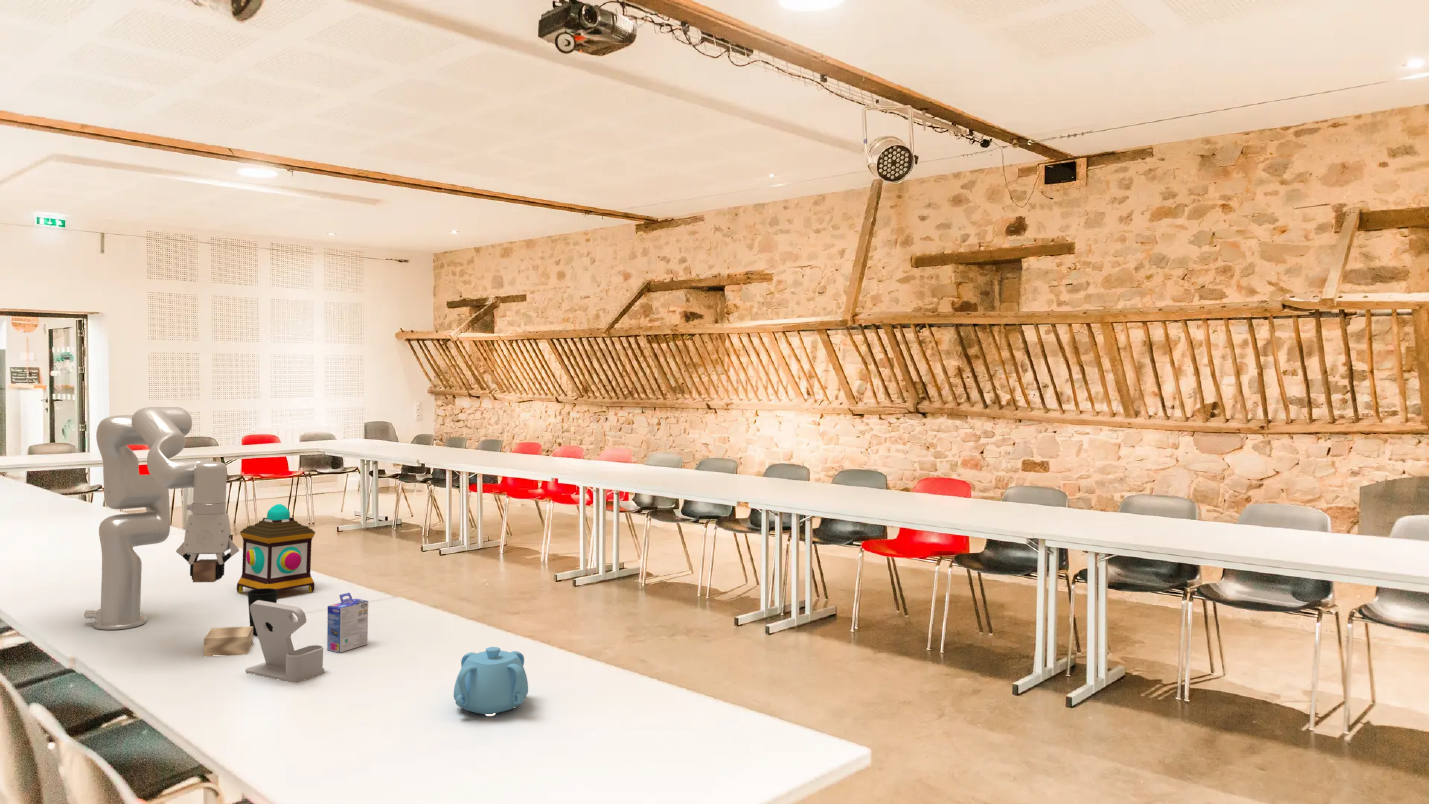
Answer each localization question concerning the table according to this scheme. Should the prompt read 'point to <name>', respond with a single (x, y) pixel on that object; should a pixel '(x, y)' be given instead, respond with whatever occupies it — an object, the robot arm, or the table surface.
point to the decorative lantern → (276, 553)
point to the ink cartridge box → (347, 624)
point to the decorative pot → (491, 681)
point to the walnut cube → (205, 570)
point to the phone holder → (283, 644)
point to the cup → (262, 595)
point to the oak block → (228, 641)
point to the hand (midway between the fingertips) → (207, 578)
